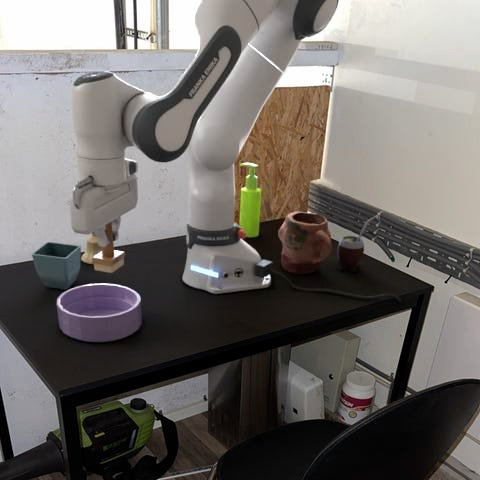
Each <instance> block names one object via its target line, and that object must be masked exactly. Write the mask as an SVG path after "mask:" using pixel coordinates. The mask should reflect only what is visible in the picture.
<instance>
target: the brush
mask: <svg viewBox="0 0 480 480" xmlns="http://www.w3.org/2000/svg"><path fill="white" fill-rule="evenodd" d="M104 231H105V233H106V236H109V243H110V244H109V245H108V246H106V247H102V251H101V252H100V253H98V254H96V255H95V256H93V257H92V263H94V264H93V269H94V271H98V272H105V273H110V274H113V273H114V272H115V271H117V270H118V269H119V268H121V267H122V266H124V265H125V260H124V259H125V258H126V254H125V253H126V252H125V251H122V250H116V249H115V244H114V241H113V231H112V222H110V223H108V224H106V230H104Z"/></svg>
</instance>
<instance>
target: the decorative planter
mask: <svg viewBox="0 0 480 480" xmlns="http://www.w3.org/2000/svg"><path fill="white" fill-rule="evenodd" d="M277 232H278V233H277V234H278V235H277V236H278V238H279V240H280V241H281V243H282V250H281V256H280V263H281V266H282V269H284V270H285V271H287V272H288V273H291V274H295V275H303V274H304V275H305V274H310V273H313V272H315V271H318V269H319V267H320V264H321V262H322V261H323V260H324V259H326V258H328V257H329V256H330V254H331V252H332V250H333V249H332V248H333V246H332V235H331V231H330V229H329V223H328V219H327V218H326V217H325V216H324V215H323V214H321V213H315V212H305V211H294V212H290V213H288V214H287V215H286V217H285V219H284V221H283V223H282V225H281V226H280V228H279V229H278V231H277Z"/></svg>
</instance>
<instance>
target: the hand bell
mask: <svg viewBox="0 0 480 480" xmlns="http://www.w3.org/2000/svg"><path fill="white" fill-rule="evenodd" d="M101 251H102V247H100V246H99V245H98V239H97V237H96V235H95V233H94V232H93V233H91V236H90V237H87V239H86V248H85V252H84V253H83V254H81V262H83V263H85V264H89V265H94V263H92V257H93V256H95V255H96V254H98V253H100V252H101Z"/></svg>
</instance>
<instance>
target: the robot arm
mask: <svg viewBox="0 0 480 480" xmlns="http://www.w3.org/2000/svg"><path fill="white" fill-rule="evenodd" d="M339 1H340V0H200V1H199V3H198V4H197V7H196V8H195V10H194V13H193V31H194V34H195V37H196V39H197V41H198V49H197V53H196V54H195V56H194V58H193V60H191V63H190V64H189V65H188V67H187V68H186V69H185V70H184V73H183V74H181V76H180V78H179V79H178V81H177V83H176V84H175V85H174V87H173V88H172V89H171V90H170V91H169V92H168V93H166V94H164V95H161V96H158V95H156V94H154V93H151V92H149V91H145V90H143V89H140V88H138V87H136V86H134V85H131V84H130V83H128V82H125V80H122V79H121V78H119V77H118V76H117V75H116V74H115V73H114V72H112V71H109V70H101V71H92V72H88V73H85V74H82V75H81V76H78V77H77V78H76V79H75V81H73V84H72V88H71V114H72V116H71V117H72V125H73V126H72V127H73V131H74V134H75V137H76V142H77V143H76V151H75V152H76V153H75V154H76V161H77V162H76V165H77V171H78V180H77V181H76V182H75V186H74V187H73V189H72V192H71V194H70V199H69V210H70V211H69V212H70V213H69V214H70V227H71V229H72V231H73V232H74V233H76V234H80V235H86V236H87V235H92V233H93V232H94V233H95V235H96V237H97V239H98V245H99V246H100V247H106V246H108V245H109V244H110V243H109V236H106V233H105V231H104V230H106V224H108V223H110V222H112V231H113V242H115V241H117V240H119V238H120V237H119V236H120V235H119V230H120V226H121V221H122V220H121V218H122V216H124V215H125V214H127V213H128V212H130V211H132V210H134V209H136V207H137V205H138V200H139V197H138V195H139V188H138V177H137V173H138V171H139V170H138V169H139V166H138V161H136V160H134V159H133V160H132V159H128V158H126V149H127V148H130V147H134V148H136V149H138V150H139V151H140V152H141V153H142V154H144V155H145V157H147V158H148V159H150V160H151V161H154V162H157V163H170V162H173V161H175V160H177V159H178V158H180V157H181V156H182V155H183V154H184V153H185V152H186V154H187V155H186V157H187V158H186V160H187V184H188V186H187V187H188V188H187V189H188V222H187V223H186V231H185V233H186V234H185V235H186V237H185V239H186V240H185V241H186V245H187V254H186V260H185V265H184V271H183V274H182V281H183V282H184V283H185V284H186V285H188V286H190V287H192V288H194V289H199V290H203V291H207V293H211V294H215V295H220V294H227V293H235V292H241V291H249V290H257V289H258V290H259V289H266V288H269V287H270V286H271V283H272V277H271V274H275V275H276V276H279V277H280V278H282V279H283V280H285V282H286V283H287V284H288V286H289V287H291V288H293V289H295V290H298V291H305V292H314V293H329V294H335V295H340V296H344V297H349V298H353V299H359V300H367V301H370V300H371V301H373V300H378V299H383V298H393V299H395V300H396V301H397V302H402V299H401V298H400V297H399V296H398V295H395V294H393V293H383V294H378V295H373V296H368V295H367V296H366V295H358V294H353V293H348V292H344V291H339V290H335V289H329V288H305V287H300V286H298V285H295V284H293V283H292V281H290V279H289V278H288V277H287V276H286V275H284V274H282V273H281V272H279V271H277V270H275V269H273V261H271V260H267V259H262V257H261V255H260V254H259V252H258V251H257V250H256V249H255V248H254V247H253V246H252V245H250V244H248V242H247V241H245V240H244V239H246V238H248V237H247V236H246V235H247V233H246V232H245V230H244V229H242V228H241V226H240V224H238V222H235V210H236V209H235V208H236V180H235V163H236V161H237V160H238V158H239V155H240V153H241V151H242V149H243V147H244V146H245V143H246V142H247V140H248V138H249V136H250V134H251V132H252V130H253V128H254V127H255V124H256V122H257V119H258V117H259V115H260V113H261V111H262V109H263V108H264V106H265V104H266V102H267V101H268V100H269V98H270V96H271V95H272V93H273V91H274V90H275V88H276V87H277V85H278V84H279V82H280V80H281V79H282V77H283V76H284V74H285V72H286V71H287V70H288V68H289V66H290V64H291V63H292V61H293V59H294V57H295V55H296V53H297V51H298V49H299V47H300V45H301V42H302V40H304V39H306V38H310V37H314V36H316V35H317V34H319V33H321V32H322V31H323V30H324V29H326V27H327V26H328V25H329V23H330V22H331V20H332V19H333V17H334V15H335V13H336V11H337V8H338V6H339ZM394 384H395V382H394V381H392V382H390V384H389V389H388V394H387V399H386V404H385V406H386V405H387V404H389V405H390V403H391V397H392V392H393V388H394Z"/></svg>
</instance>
